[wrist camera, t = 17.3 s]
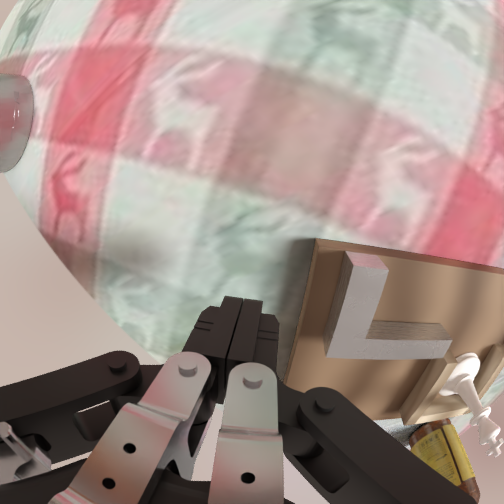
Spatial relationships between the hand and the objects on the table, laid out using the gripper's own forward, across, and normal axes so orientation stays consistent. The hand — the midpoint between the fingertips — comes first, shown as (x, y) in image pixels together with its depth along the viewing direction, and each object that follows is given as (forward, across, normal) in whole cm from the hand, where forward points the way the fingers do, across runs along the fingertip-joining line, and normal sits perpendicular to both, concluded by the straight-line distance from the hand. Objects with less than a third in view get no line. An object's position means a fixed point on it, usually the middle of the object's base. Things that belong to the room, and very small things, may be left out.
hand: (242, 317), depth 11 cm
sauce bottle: (+8, -24, +21) cm, 33 cm away
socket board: (+7, -15, +6) cm, 18 cm away
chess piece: (+6, -19, +8) cm, 22 cm away
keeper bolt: (+5, -9, +1) cm, 11 cm away
